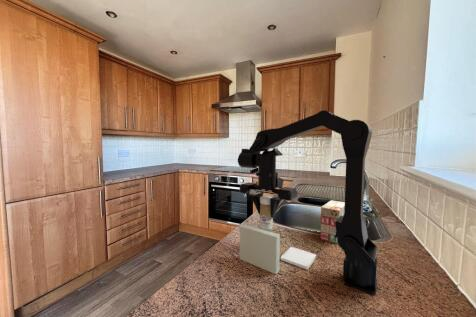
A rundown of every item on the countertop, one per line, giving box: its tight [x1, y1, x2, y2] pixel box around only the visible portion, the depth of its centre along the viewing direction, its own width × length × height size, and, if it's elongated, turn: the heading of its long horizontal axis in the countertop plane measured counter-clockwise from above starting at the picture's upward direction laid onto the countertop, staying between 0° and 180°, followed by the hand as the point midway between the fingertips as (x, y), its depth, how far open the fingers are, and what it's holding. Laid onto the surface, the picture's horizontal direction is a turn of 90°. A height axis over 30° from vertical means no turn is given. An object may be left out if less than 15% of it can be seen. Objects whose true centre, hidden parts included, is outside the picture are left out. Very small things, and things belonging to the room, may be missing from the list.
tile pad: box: [280, 246, 317, 271], centre depth 59 cm, size 8×8×1 cm
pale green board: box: [239, 223, 281, 275], centre depth 56 cm, size 12×2×10 cm, turn 53°
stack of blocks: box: [319, 200, 345, 245], centre depth 77 cm, size 21×6×12 cm, turn 139°
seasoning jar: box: [258, 195, 274, 232], centre depth 65 cm, size 5×5×14 cm
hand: (266, 216), depth 65 cm, fingers closed on seasoning jar, 4 cm apart
